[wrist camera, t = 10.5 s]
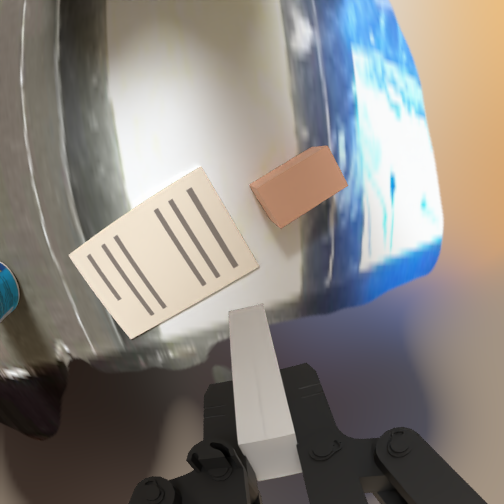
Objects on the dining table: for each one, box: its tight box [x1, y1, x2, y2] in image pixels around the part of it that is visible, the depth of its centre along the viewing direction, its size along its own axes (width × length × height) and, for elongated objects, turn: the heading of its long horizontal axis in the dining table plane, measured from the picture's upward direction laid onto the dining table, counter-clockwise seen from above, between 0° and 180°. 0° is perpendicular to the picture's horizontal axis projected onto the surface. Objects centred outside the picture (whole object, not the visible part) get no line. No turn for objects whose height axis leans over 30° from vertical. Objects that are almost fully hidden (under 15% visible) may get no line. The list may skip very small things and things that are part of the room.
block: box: [249, 146, 348, 228], centre depth 34 cm, size 5×5×9 cm
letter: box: [69, 167, 259, 339], centre depth 36 cm, size 14×20×1 cm
